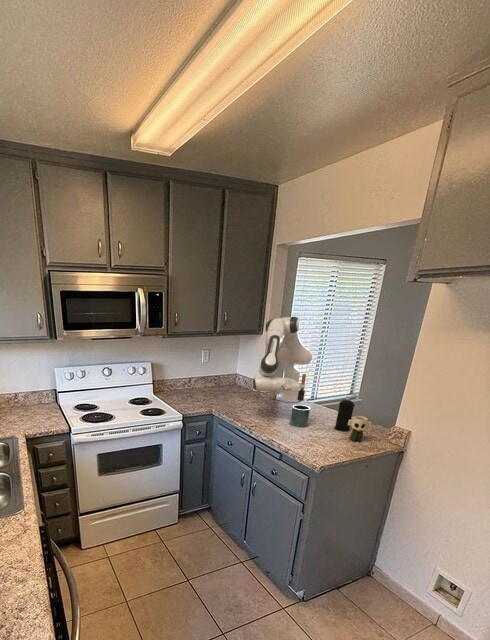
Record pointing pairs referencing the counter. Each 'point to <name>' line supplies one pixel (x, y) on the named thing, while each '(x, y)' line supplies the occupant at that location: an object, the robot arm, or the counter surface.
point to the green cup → (300, 415)
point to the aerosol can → (344, 414)
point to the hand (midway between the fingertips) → (304, 385)
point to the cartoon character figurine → (358, 427)
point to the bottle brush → (302, 389)
